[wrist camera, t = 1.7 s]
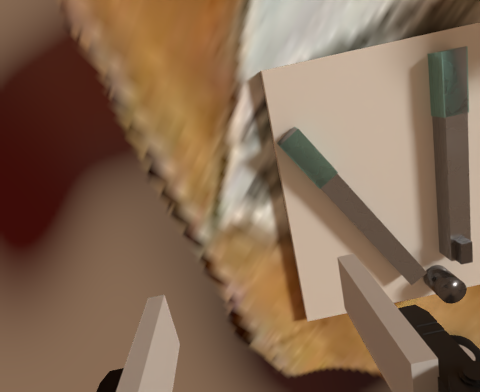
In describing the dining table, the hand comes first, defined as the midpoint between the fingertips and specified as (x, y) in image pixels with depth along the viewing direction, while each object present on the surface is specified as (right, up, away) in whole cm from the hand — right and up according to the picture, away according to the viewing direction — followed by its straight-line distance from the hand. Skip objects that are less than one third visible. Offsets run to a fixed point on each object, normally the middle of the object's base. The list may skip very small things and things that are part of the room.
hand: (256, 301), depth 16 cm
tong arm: (+9, +4, +16) cm, 19 cm away
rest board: (+12, +6, +17) cm, 22 cm away
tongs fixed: (+17, +7, +17) cm, 25 cm away
